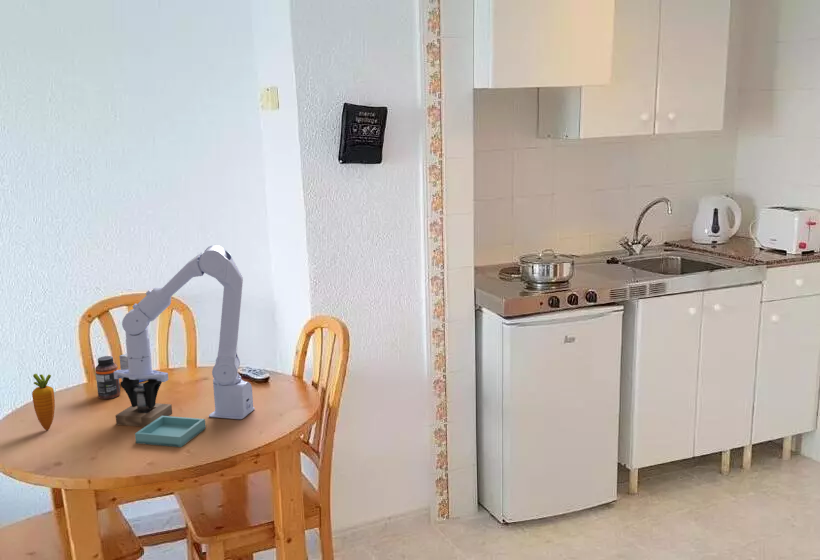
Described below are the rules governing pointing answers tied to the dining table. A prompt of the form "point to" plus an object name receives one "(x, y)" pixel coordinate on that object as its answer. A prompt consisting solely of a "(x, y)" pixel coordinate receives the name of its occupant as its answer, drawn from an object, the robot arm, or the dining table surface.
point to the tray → (170, 431)
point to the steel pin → (141, 398)
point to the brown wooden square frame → (142, 415)
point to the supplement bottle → (107, 378)
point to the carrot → (43, 401)
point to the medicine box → (125, 364)
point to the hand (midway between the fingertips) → (143, 406)
